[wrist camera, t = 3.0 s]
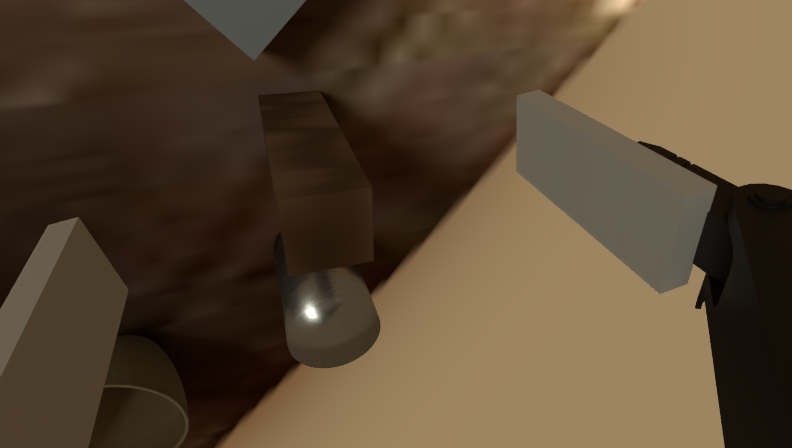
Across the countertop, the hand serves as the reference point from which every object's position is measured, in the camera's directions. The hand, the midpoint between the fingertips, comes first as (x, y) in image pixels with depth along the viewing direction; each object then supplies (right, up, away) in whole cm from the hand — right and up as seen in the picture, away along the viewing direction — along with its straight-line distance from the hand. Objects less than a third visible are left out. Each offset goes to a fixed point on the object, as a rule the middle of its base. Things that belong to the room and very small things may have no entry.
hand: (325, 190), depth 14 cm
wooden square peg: (-5, +6, +17) cm, 19 cm away
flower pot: (-20, -12, +24) cm, 33 cm away
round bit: (-5, -3, +23) cm, 24 cm away
